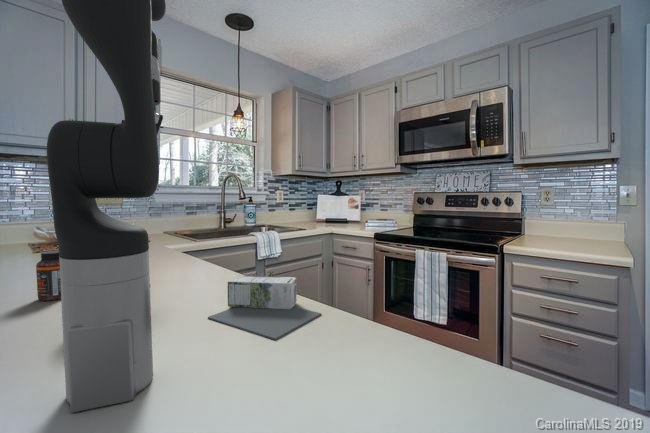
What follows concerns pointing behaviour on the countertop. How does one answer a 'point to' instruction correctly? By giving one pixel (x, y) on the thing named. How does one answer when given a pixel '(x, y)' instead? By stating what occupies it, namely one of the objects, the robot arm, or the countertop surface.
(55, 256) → the supplement bottle
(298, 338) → the countertop surface
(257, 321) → the mat
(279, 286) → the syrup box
